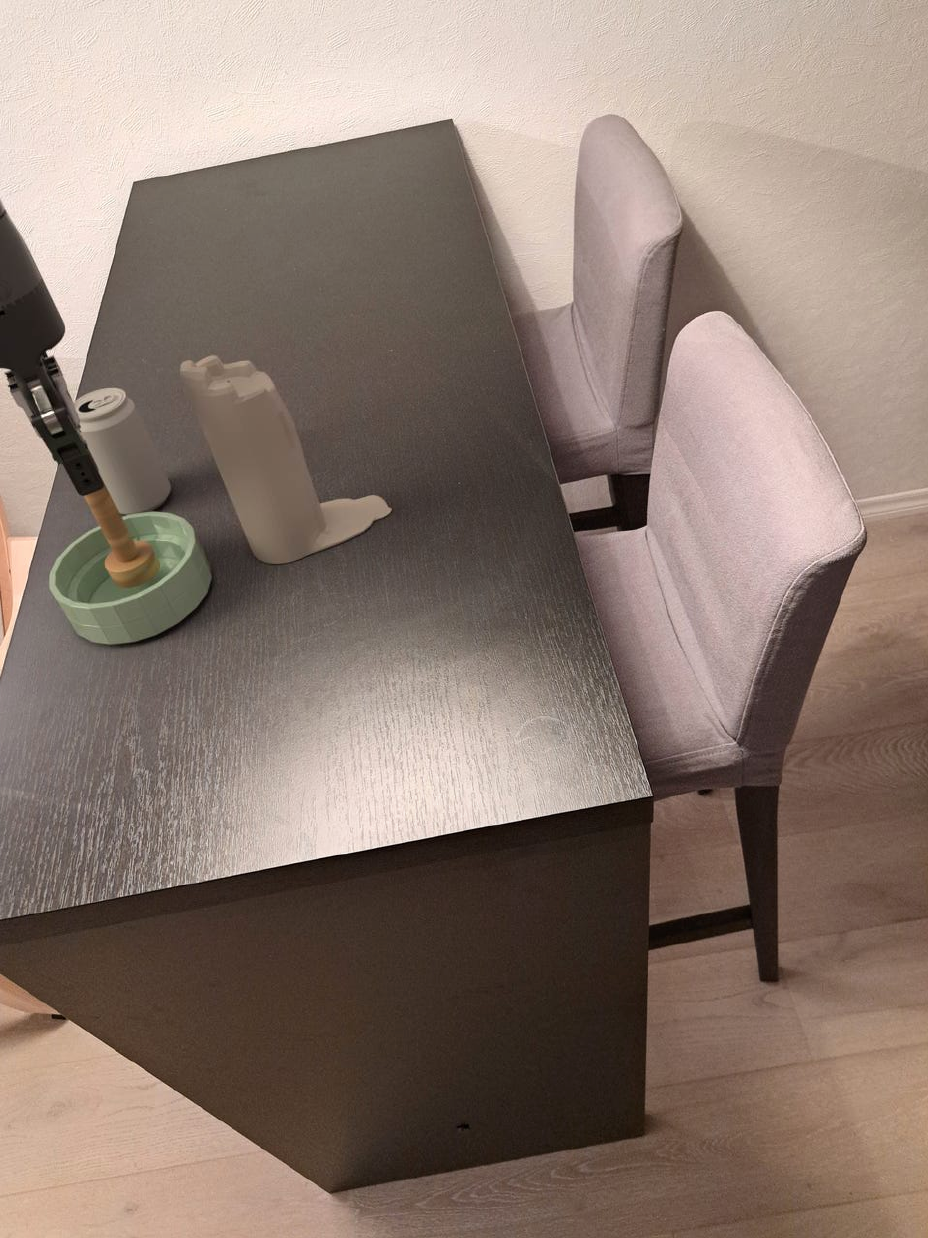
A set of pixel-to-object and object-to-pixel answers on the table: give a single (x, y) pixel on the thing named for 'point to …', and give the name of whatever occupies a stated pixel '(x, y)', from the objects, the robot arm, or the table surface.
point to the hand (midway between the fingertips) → (89, 483)
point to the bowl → (139, 609)
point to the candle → (268, 464)
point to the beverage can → (122, 451)
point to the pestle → (122, 544)
